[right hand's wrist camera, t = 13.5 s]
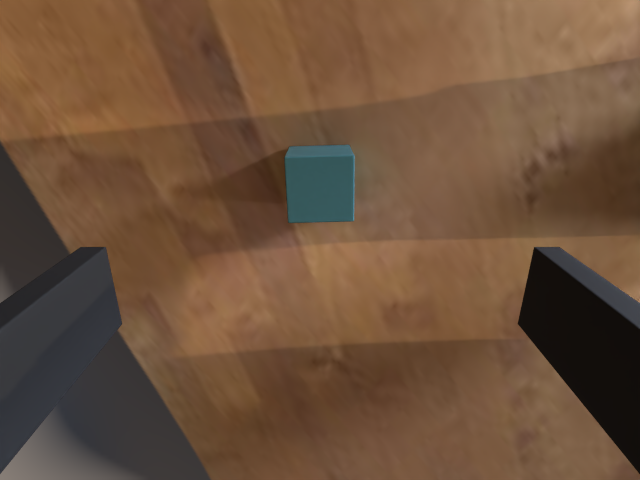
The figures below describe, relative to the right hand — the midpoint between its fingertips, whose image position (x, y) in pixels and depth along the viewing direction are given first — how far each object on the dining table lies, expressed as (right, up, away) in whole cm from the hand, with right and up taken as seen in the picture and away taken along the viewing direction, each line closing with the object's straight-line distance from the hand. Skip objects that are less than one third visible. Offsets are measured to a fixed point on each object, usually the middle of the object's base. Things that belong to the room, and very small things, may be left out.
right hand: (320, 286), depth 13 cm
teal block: (0, +7, +22) cm, 23 cm away
